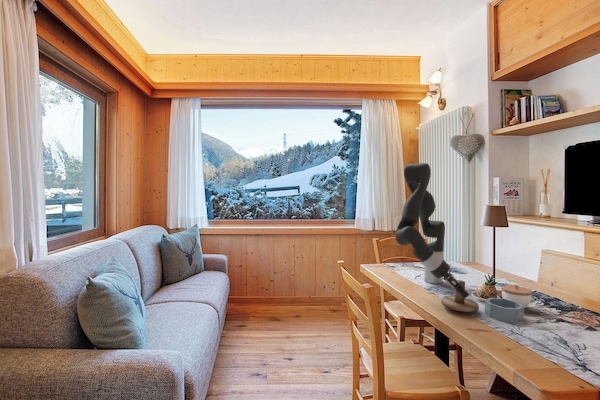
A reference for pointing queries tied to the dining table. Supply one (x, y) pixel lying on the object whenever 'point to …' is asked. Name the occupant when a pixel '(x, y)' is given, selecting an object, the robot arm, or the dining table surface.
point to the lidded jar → (517, 294)
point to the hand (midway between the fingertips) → (464, 294)
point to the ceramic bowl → (504, 309)
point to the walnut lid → (460, 301)
